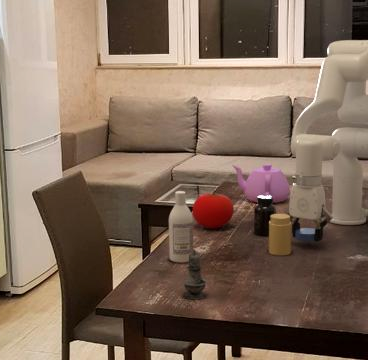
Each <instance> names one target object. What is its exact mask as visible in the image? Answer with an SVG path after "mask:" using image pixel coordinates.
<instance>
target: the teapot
mask: <svg viewBox="0 0 368 360" xmlns="http://www.w3.org/2000/svg"><path fill="white" fill-rule="evenodd" d="M231 167H233V168H234V169H235V171H236V175H237V185H238V187H239V189H240V190H241V191H243V193H244V195H245V197H246V198H247V199H248V200H249V201H251V202H255V203H257V201H258V196H271V197H273V203H274V204H276V203H277V204H278V203H281V202H284V201H285V200H286V199H287V198H288V197H289V196H290V195H291V188H290V184H289V182H288V179H287V177H286V176H285V174H284V173H283V171H282V169H281V168H278V167H272V164H271V163H263V164H262V167H256V168H254V169H253V170H252V171H251V173H250V174H249V176H248V178H247V179H246V180H245V179H244V177H243V170H242V168H241V167H239V166H238V165H233V164H232V165H231Z"/></svg>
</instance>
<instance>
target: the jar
mask: <svg viewBox="0 0 368 360" xmlns="http://www.w3.org/2000/svg"><path fill="white" fill-rule="evenodd" d="M270 217H271V220H270V222H269V236H268V254H271V255H274V256H288V255H290V254H291V253H292V224H291V222H290V219H291V218H290V216H289V215H287V214H285V213H276V214H273V215H271V216H270Z"/></svg>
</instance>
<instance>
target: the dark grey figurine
mask: <svg viewBox="0 0 368 360" xmlns="http://www.w3.org/2000/svg"><path fill="white" fill-rule="evenodd" d="M186 268H187V269H188V276H187V278H186V279H183V281H182V284H183V285H184V288H185V290H186V291H187V292H185V293H184V294H183V295H184V297H185V298H186V299H190V300H201V299H203V298H205V297H206V293H205V292H203V291H204V290H205V288H206V284H207V279H204V278H202V272H201V271H202V270H201V269H203V266H201V255H200V253H198V252H196V250H195V249H194V248H193V253H191V254H190V255H189V262H188V265H187V267H186Z"/></svg>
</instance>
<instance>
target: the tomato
mask: <svg viewBox="0 0 368 360" xmlns="http://www.w3.org/2000/svg"><path fill="white" fill-rule="evenodd" d="M234 210H235V208H234V204H233V202H232V200H231V199H230V198H229V197H228V196H227V195H225V194H223V193H222V194H221V193H216V192H207V193H203V194H201V195H200V196H198V197H197V198H196V199H195V200H194V202H193V204H192V217H193V219H194V220H195V221H196V223H197V224H198V225H200V226H201V227H204V228H206V229H213V230H214V229H219V228H222V227H224V226H226V225H227V224H228V223H229V222H231V219H232V217H233V215H234Z"/></svg>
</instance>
